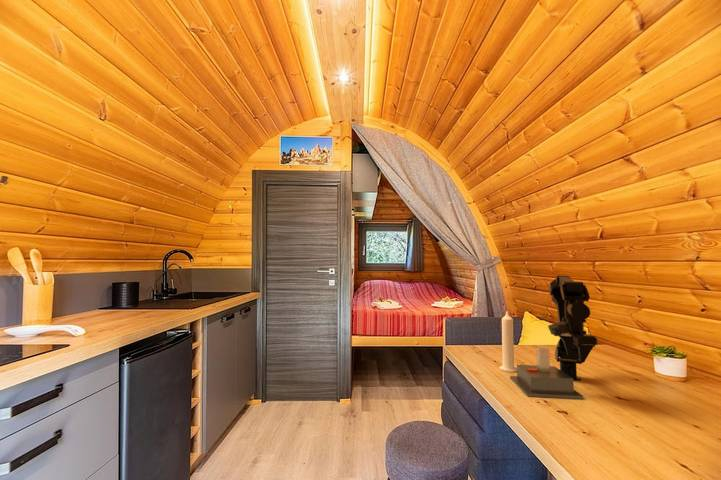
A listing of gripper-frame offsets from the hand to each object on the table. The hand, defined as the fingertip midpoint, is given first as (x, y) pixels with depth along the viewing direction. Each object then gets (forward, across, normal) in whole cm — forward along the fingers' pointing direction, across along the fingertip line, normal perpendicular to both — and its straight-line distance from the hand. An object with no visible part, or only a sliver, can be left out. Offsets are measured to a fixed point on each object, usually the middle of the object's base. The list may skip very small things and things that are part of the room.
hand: (575, 358), depth 122 cm
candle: (+11, -20, -18) cm, 29 cm away
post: (+5, 0, -11) cm, 13 cm away
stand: (+11, 0, -11) cm, 16 cm away
